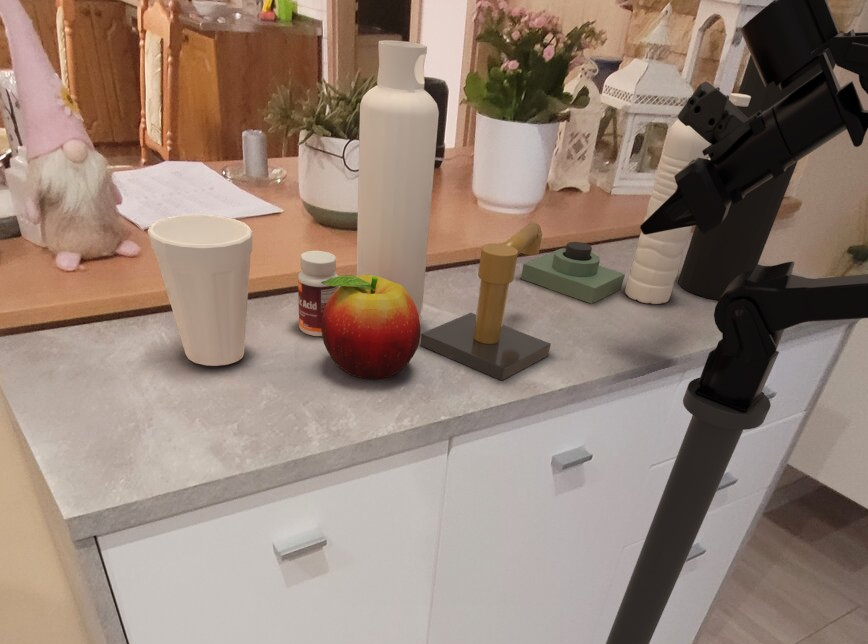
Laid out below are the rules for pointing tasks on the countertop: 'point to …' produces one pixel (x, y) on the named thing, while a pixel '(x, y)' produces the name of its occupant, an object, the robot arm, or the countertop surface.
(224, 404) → the countertop surface
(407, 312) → the fruit
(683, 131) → the water bottle
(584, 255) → the dark round button
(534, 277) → the green button mount
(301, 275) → the pill bottle
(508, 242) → the spout
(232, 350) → the cup
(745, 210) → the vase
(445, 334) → the tap base
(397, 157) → the bottle
